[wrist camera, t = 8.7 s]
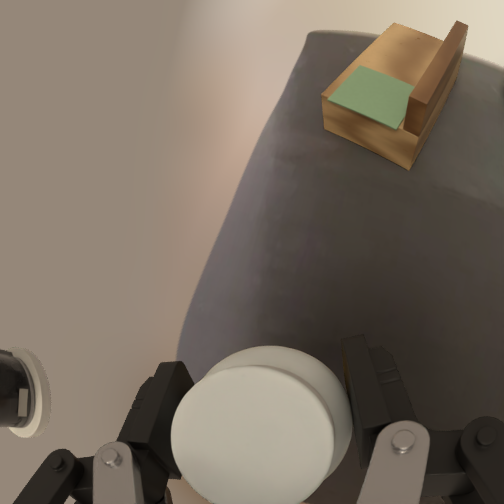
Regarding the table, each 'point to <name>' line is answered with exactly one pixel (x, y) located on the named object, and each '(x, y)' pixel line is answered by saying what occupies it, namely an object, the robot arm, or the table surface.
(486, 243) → the table surface
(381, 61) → the shelf
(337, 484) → the table surface
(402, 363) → the table surface
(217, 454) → the supplement bottle
